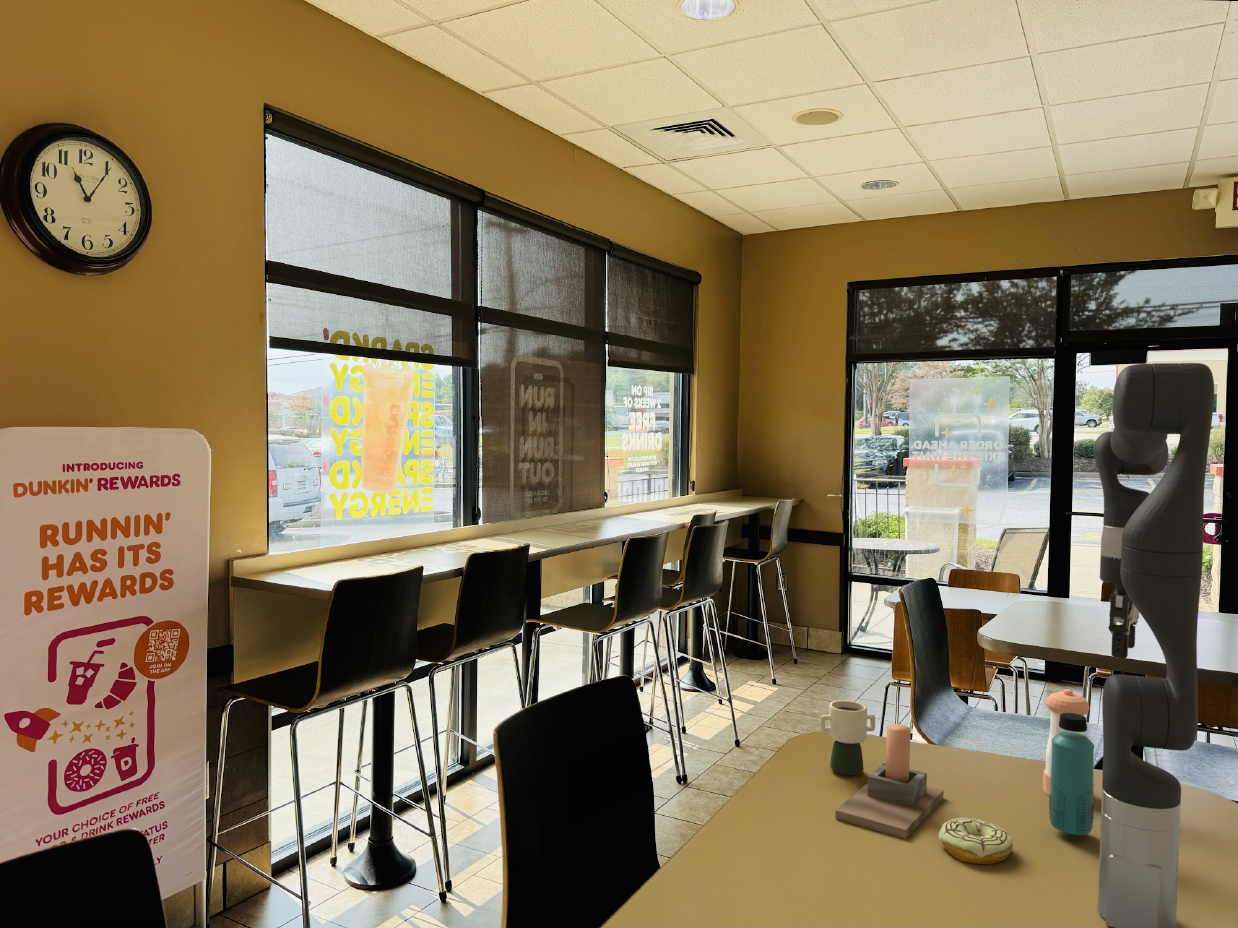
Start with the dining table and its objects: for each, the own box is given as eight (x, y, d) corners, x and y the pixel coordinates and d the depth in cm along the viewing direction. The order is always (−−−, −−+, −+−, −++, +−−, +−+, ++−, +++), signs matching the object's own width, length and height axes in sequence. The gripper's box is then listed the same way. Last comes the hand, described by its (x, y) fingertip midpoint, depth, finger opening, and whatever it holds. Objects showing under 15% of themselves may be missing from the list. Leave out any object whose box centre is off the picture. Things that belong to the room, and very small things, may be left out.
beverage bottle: (1098, 846, 142) (1102, 723, 142) (1053, 841, 144) (1057, 719, 143) (1085, 828, 149) (1089, 710, 148) (1042, 824, 150) (1046, 707, 149)
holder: (905, 838, 144) (906, 808, 144) (835, 818, 152) (836, 789, 151) (943, 797, 160) (944, 770, 160) (878, 781, 168) (878, 755, 167)
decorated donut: (926, 849, 142) (926, 825, 141) (962, 830, 148) (962, 807, 148) (988, 875, 134) (989, 850, 133) (1023, 853, 140) (1024, 830, 140)
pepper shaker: (1093, 793, 163) (1097, 690, 162) (1077, 804, 158) (1081, 698, 157) (1052, 781, 168) (1055, 681, 167) (1036, 792, 163) (1039, 688, 163)
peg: (904, 800, 155) (905, 733, 155) (881, 794, 158) (883, 728, 157) (911, 793, 159) (913, 727, 158) (889, 787, 161) (891, 722, 160)
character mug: (867, 764, 176) (868, 699, 176) (881, 778, 169) (882, 710, 168) (813, 765, 175) (814, 700, 175) (824, 779, 168) (826, 711, 168)
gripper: (1148, 561, 138) (1144, 665, 138) (1158, 551, 149) (1154, 647, 150) (1093, 556, 142) (1090, 657, 143) (1107, 547, 153) (1104, 640, 154)
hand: (1123, 652), depth 146 cm, fingers open, 8 cm apart
